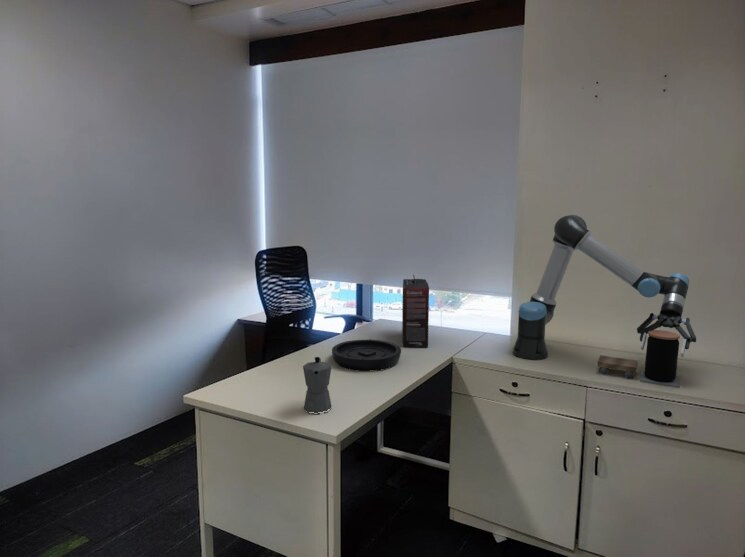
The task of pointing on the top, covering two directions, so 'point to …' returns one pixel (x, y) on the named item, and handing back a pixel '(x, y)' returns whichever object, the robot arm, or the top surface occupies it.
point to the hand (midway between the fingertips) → (661, 351)
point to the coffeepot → (317, 386)
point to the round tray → (366, 354)
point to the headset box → (415, 312)
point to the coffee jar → (661, 355)
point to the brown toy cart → (617, 365)
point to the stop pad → (674, 383)
